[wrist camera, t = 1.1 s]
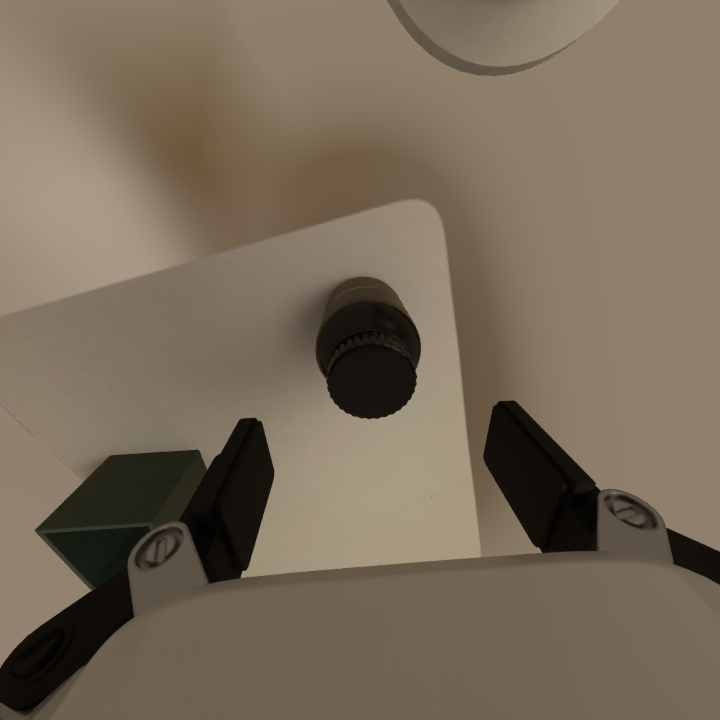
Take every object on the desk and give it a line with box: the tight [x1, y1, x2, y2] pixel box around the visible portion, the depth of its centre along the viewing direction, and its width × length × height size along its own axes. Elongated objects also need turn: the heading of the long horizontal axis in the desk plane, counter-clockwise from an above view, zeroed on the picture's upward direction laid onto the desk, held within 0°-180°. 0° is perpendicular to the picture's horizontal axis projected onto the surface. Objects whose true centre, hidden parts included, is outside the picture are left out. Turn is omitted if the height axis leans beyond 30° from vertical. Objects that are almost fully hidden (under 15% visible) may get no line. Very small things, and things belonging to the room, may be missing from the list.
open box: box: [35, 450, 207, 590], centre depth 30 cm, size 10×10×8 cm
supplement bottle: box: [315, 277, 421, 419], centre depth 20 cm, size 7×7×12 cm
